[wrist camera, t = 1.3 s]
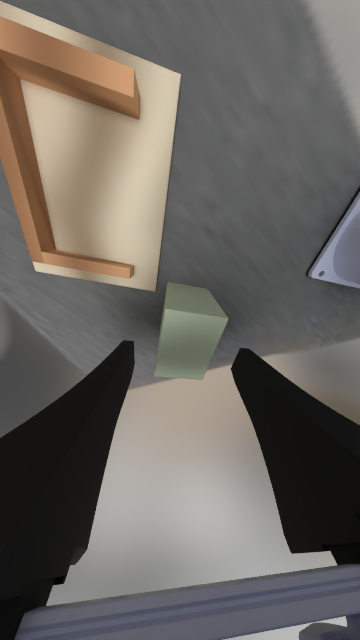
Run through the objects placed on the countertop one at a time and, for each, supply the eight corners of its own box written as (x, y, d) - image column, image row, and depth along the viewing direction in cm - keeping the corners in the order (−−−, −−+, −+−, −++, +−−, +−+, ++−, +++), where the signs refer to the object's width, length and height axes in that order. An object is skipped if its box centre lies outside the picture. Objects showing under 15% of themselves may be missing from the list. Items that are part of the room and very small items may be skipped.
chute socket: (180, 83, 8) (182, 39, 6) (155, 289, 14) (153, 297, 12) (-37, -3, 6) (-115, -92, 5) (40, 269, 12) (18, 275, 10)
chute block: (207, 288, 14) (228, 318, 9) (192, 336, 17) (202, 379, 12) (167, 281, 13) (165, 308, 8) (159, 332, 16) (154, 375, 11)
